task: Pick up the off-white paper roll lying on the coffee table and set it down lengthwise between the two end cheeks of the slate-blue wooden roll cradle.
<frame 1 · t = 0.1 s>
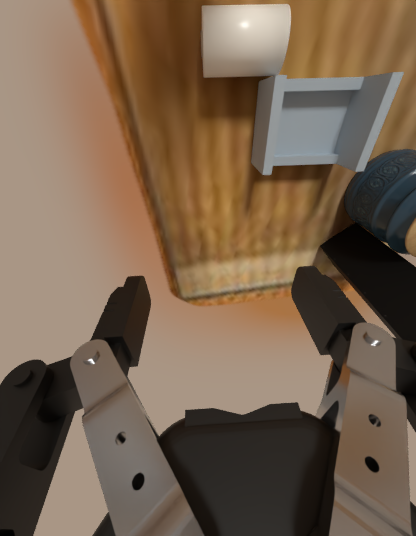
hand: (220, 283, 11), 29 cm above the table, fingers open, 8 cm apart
long black block: (343, 244, 46), on the table
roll: (238, 50, 26), on the table
cradle: (300, 124, 31), on the table
canister: (378, 187, 38), on the table
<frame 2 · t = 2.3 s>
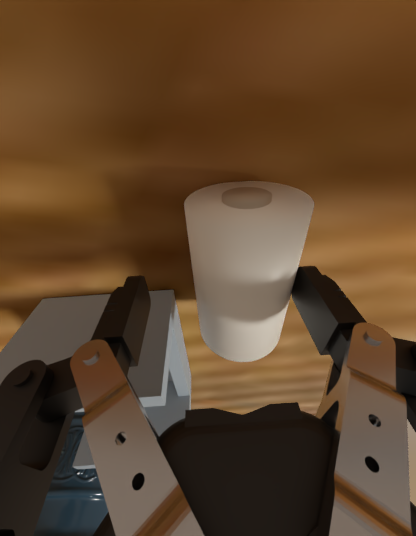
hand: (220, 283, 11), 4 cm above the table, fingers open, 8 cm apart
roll: (197, 267, 13), point 2 cm above the table, tilted 67°
cradle: (132, 345, 20), on the table
canister: (96, 413, 31), on the table
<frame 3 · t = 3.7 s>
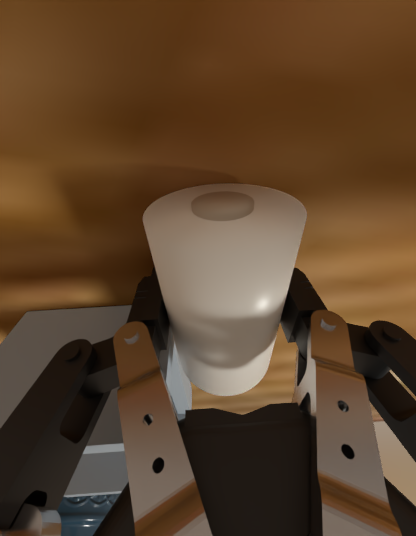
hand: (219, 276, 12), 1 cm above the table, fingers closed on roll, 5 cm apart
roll: (190, 269, 12), on the table, tilted 35°, touching gripper
cradle: (128, 359, 19), on the table
canister: (90, 425, 29), on the table
when the fingers open (4 cm above the table, at t = 9.5 s): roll drops 2 cm, resting on cradle.
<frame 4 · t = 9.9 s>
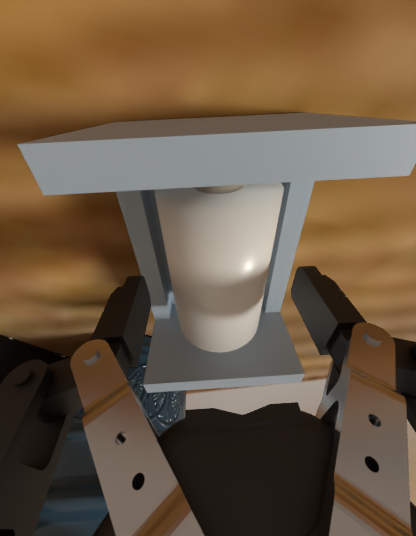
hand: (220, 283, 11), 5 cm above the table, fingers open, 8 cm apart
long black block: (27, 359, 24), on the table
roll: (191, 245, 14), point 1 cm above the table, tilted 34°, touching cradle
cradle: (213, 235, 15), on the table
canister: (135, 361, 26), on the table
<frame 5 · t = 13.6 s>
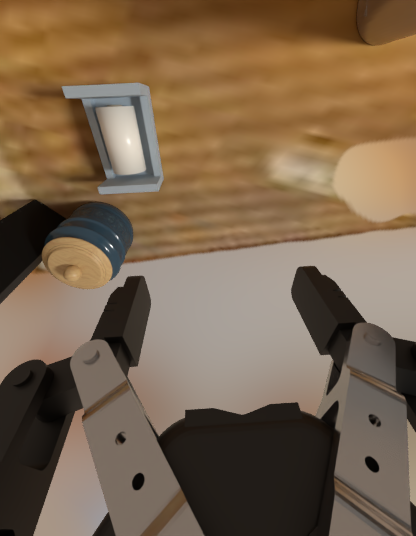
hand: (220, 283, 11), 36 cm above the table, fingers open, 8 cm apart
long black block: (48, 222, 47), on the table
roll: (117, 139, 36), point 1 cm above the table, tilted 34°, touching cradle
cradle: (129, 139, 38), on the table
canister: (105, 227, 48), on the table
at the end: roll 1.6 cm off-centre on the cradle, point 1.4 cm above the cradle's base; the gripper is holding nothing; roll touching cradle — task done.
